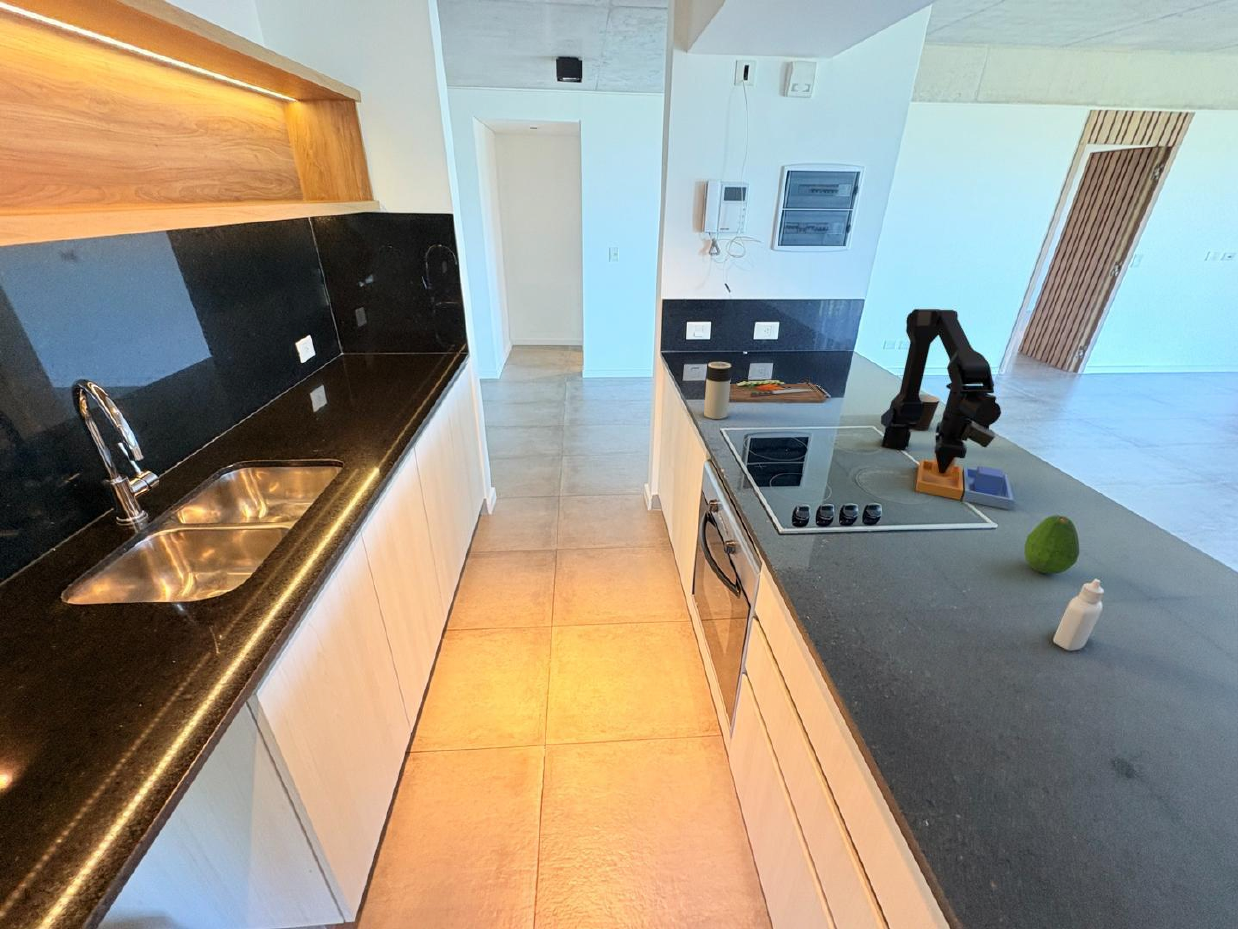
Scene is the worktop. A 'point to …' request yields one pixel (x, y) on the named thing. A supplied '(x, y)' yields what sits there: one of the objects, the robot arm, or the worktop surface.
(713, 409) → the travel mug
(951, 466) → the orange cylinder
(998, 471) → the blue block
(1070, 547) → the avocado
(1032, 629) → the worktop surface
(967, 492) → the blue tray
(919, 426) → the coffee mug
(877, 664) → the worktop surface
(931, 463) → the amber tray
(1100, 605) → the eye dropper bottle
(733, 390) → the chopping board
